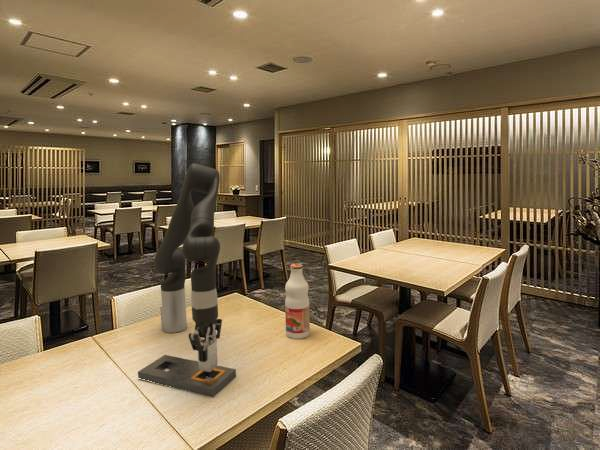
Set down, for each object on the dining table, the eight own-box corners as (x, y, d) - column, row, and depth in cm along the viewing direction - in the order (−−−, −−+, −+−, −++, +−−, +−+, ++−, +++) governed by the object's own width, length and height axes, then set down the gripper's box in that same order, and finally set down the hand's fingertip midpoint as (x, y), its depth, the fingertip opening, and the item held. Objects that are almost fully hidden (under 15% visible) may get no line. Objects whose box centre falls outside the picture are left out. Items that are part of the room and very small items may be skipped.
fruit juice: (314, 336, 148) (312, 266, 145) (291, 341, 144) (290, 269, 141) (303, 327, 157) (302, 261, 153) (282, 332, 153) (280, 263, 149)
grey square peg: (198, 369, 115) (197, 344, 114) (206, 363, 119) (205, 339, 118) (209, 372, 114) (208, 346, 112) (217, 365, 117) (216, 341, 116)
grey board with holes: (138, 379, 120) (137, 371, 119) (165, 361, 131) (164, 354, 130) (213, 397, 109) (213, 388, 109) (236, 376, 120) (235, 368, 120)
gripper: (208, 294, 121) (211, 346, 124) (178, 309, 108) (182, 366, 111) (228, 297, 119) (231, 349, 121) (200, 312, 105) (203, 371, 108)
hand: (207, 357), depth 116 cm, fingers closed on grey square peg, 4 cm apart
